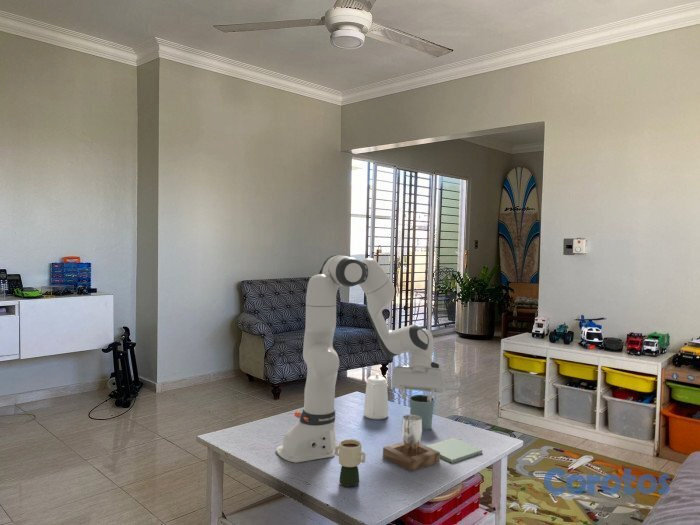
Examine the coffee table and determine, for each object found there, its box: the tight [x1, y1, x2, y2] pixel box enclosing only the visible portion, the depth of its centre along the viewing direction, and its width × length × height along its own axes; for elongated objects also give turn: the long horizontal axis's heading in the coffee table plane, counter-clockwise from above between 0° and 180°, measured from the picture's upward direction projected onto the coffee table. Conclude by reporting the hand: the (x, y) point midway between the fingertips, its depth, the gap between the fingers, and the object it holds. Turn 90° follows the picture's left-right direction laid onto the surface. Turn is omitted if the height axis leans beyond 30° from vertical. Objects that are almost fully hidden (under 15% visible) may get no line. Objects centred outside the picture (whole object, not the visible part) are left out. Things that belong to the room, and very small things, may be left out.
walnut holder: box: [382, 441, 441, 473], centre depth 184 cm, size 14×14×4 cm
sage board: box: [426, 437, 483, 464], centre depth 193 cm, size 16×14×1 cm
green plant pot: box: [409, 394, 435, 431], centre depth 217 cm, size 10×10×12 cm
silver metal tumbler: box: [401, 414, 423, 457], centre depth 184 cm, size 7×7×15 cm
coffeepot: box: [363, 372, 389, 420], centre depth 228 cm, size 11×25×19 cm, turn 168°
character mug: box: [334, 438, 366, 487], centre depth 165 cm, size 11×7×13 cm, turn 59°
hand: (416, 399), depth 195 cm, fingers open, 8 cm apart
